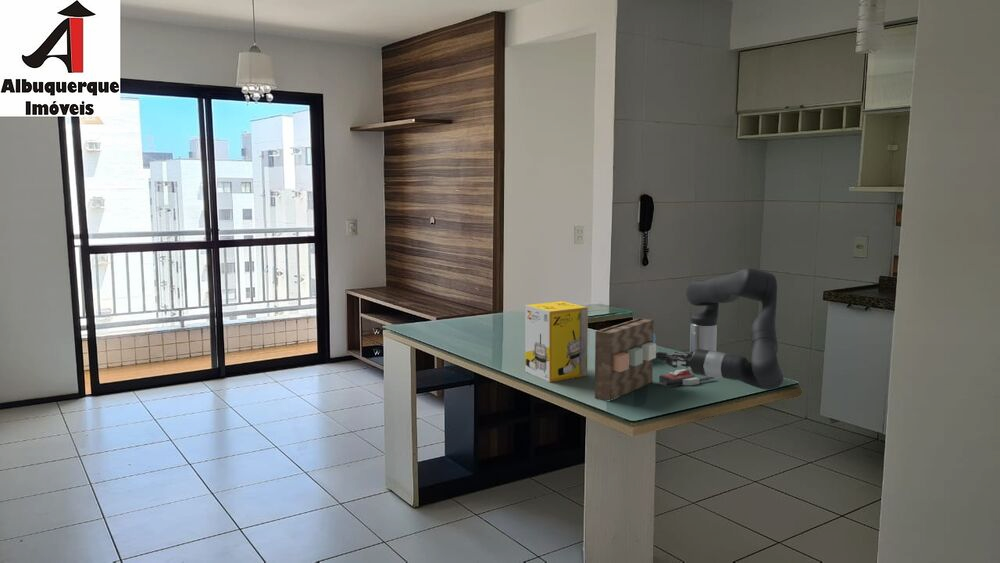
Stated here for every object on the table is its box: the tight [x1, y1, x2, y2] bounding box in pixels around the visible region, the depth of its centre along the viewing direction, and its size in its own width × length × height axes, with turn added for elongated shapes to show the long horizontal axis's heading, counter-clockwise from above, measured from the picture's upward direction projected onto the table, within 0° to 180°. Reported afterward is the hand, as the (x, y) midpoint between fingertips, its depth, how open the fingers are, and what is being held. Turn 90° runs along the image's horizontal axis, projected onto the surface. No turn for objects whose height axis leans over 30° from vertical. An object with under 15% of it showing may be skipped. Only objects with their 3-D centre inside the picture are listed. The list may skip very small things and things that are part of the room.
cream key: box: [642, 342, 657, 361], centre depth 241 cm, size 5×4×5 cm
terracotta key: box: [613, 352, 629, 372], centre depth 227 cm, size 5×4×5 cm
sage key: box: [628, 347, 643, 366], centre depth 234 cm, size 5×4×5 cm
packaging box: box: [524, 300, 589, 383], centre depth 257 cm, size 16×16×25 cm
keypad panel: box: [594, 317, 655, 401], centre depth 236 cm, size 28×6×22 cm, turn 140°
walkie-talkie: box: [658, 368, 716, 387], centre depth 246 cm, size 9×4×20 cm
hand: (657, 355), depth 218 cm, fingers closed
